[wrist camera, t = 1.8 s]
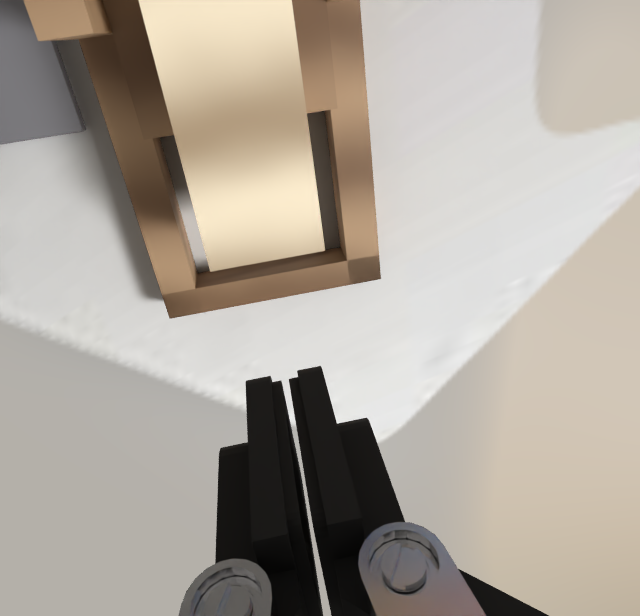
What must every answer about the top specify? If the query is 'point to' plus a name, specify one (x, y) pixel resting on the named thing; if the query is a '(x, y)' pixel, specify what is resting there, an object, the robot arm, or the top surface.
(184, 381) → the top surface
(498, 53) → the top surface
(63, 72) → the mat
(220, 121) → the slab
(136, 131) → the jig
